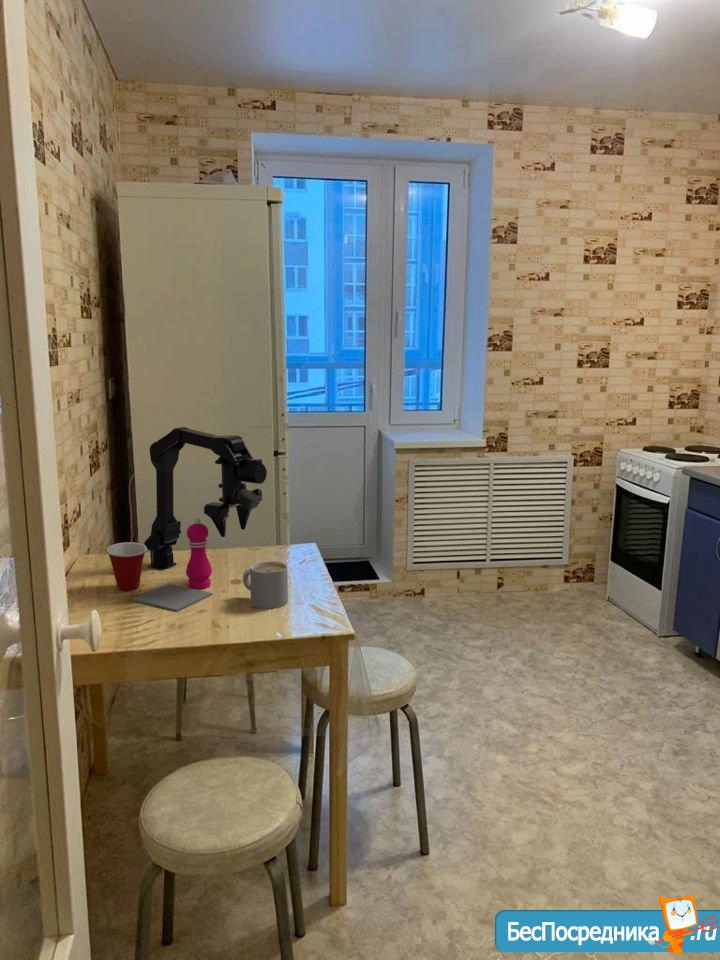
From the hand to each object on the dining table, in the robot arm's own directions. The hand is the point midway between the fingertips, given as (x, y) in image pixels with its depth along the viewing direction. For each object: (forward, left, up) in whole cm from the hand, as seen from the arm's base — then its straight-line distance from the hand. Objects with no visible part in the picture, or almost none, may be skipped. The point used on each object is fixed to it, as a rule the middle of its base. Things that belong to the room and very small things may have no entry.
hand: (233, 533), depth 202 cm
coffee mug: (+17, -8, -15) cm, 24 cm away
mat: (-6, -19, -15) cm, 25 cm away
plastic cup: (-23, -19, -15) cm, 33 cm away
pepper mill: (-6, -8, -15) cm, 18 cm away
